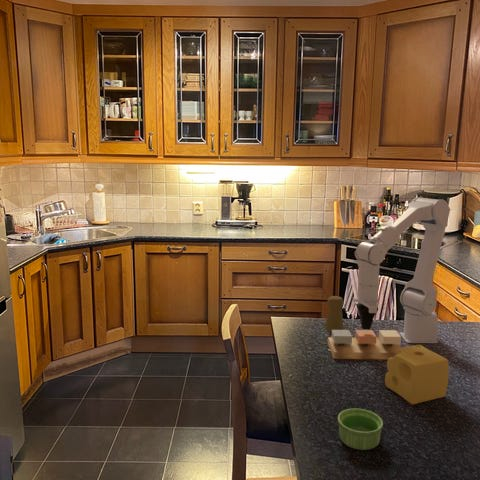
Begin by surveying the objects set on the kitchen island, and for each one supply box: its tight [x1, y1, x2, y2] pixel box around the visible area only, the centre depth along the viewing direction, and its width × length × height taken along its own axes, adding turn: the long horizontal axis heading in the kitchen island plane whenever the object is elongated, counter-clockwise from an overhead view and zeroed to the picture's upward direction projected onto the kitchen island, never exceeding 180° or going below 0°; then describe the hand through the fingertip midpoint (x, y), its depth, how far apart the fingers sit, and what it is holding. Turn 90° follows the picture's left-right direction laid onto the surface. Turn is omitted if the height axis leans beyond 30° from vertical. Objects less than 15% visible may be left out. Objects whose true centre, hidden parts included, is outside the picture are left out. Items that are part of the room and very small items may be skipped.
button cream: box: [378, 329, 402, 345], centre depth 141 cm, size 5×5×2 cm
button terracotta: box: [354, 329, 378, 344], centre depth 141 cm, size 5×5×2 cm
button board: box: [327, 336, 402, 360], centre depth 142 cm, size 20×11×3 cm, turn 88°
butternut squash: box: [324, 295, 345, 333], centre depth 159 cm, size 6×6×11 cm
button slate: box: [331, 329, 353, 344], centre depth 142 cm, size 5×5×2 cm
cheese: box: [384, 344, 450, 405], centre depth 118 cm, size 10×11×10 cm
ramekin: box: [337, 408, 384, 451], centre depth 99 cm, size 9×9×4 cm
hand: (365, 328), depth 141 cm, fingers closed
